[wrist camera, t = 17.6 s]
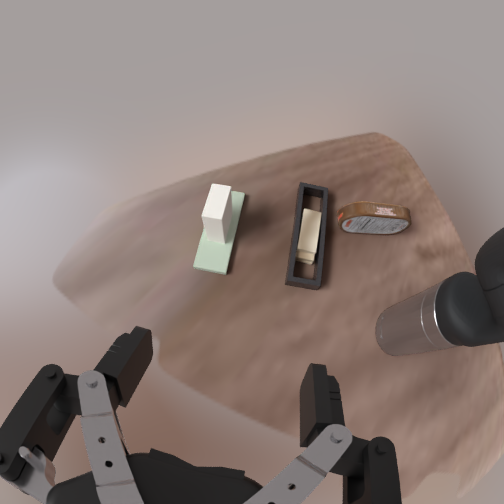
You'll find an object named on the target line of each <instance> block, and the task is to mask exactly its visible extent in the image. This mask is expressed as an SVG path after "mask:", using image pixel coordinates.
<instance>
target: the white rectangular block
mask: <svg viewBox="0 0 504 504" xmlns="http://www.w3.org/2000/svg"><path fill="white" fill-rule="evenodd" d="M232 214H233V212H232V194H231V186H225V185H219V184H212V186H211V189H210V192H209V195H208V198H207V201H206V204H205V207H204V210H203V214H202V219H203V223H204V227H205V231H206V235H207V239H208V241H212V242H218V243H223V244H225V241H226V237H227V234H228V230H229V226H230V222H231V218H232Z"/></svg>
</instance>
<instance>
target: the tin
mask: <svg viewBox="0 0 504 504" xmlns="http://www.w3.org/2000/svg"><path fill="white" fill-rule="evenodd" d="M337 217H338V225H339V227H340V229H341V230H343V231H345V232H349V233H361V234H377V235H391V234H396V233H399V232H402V231H403V230H405V229H406V228H408V227H409V226H410V225H411V217H410V210H409V209H408V208H407V207H405V206H401V205H393V204H385V203H376V202H367V201H360V202H353V203H349V204H347V205H344V206H343V207H341V208H340V209H339V210H338V211H337Z"/></svg>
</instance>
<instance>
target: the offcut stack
mask: <svg viewBox="0 0 504 504" xmlns="http://www.w3.org/2000/svg"><path fill="white" fill-rule="evenodd" d="M320 220H321V212H317V211H313V210H309V209H305V208H304V211H303V212H302V216H301V222H300V228H299V234H298V242H297V249H296V257H295V261H297V262H302V263H306V264H310V265H311V264H312V262H313V261H314V255H315V253H316V249H317V242H318V235H319V228H320Z"/></svg>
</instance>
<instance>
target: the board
mask: <svg viewBox="0 0 504 504" xmlns="http://www.w3.org/2000/svg"><path fill="white" fill-rule="evenodd" d="M231 194H232V212H233V214H232V218H231V222H230V226H229V230H228V234H227V237H226V241H225V244H223V243H218V242H212V241H208V239H207V235H206V231H205V227H204V230H203V233H202V237H201V240H200V244H199V247H198V251H197V254H196V258H195V262H194V265H193V267H194V268H195V269H200V270H204V271H209V272H214V273H219V274H225V275H226V273H227V269H228V264H229V260H230V256H231V251H232V247H233V243H234V239H235V234H236V230H237V226H238V222H239V218H240V213H241V209H242V205H243V201H244V197H245V193H241V192H235V191H231Z"/></svg>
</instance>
